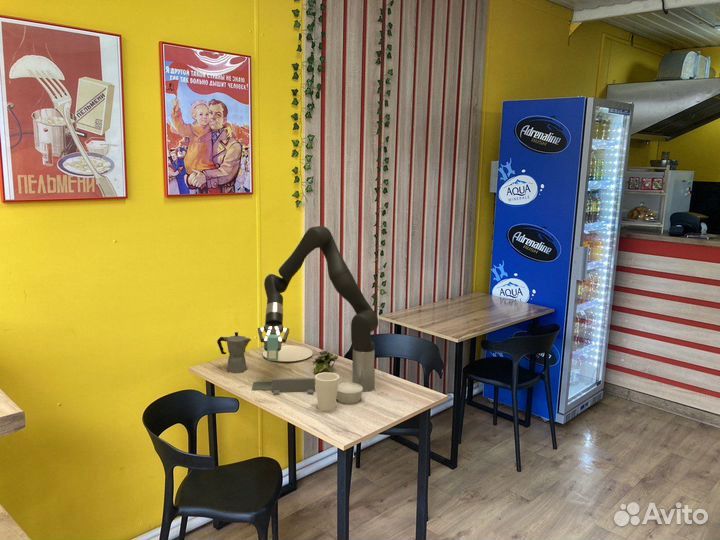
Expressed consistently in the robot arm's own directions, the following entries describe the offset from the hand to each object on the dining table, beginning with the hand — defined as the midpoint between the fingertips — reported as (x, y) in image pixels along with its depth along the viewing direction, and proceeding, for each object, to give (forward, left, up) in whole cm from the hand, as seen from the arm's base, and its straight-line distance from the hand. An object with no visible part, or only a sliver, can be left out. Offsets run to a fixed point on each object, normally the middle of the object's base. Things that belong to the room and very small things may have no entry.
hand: (272, 350), depth 236 cm
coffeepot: (+28, +6, -17) cm, 33 cm away
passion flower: (+6, -29, -17) cm, 34 cm away
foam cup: (-30, -10, -17) cm, 36 cm away
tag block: (+2, -1, -4) cm, 5 cm away
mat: (+3, +3, -16) cm, 17 cm away
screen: (-10, -5, -16) cm, 20 cm away
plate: (+35, -24, -17) cm, 46 cm away
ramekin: (-27, -22, -17) cm, 38 cm away
